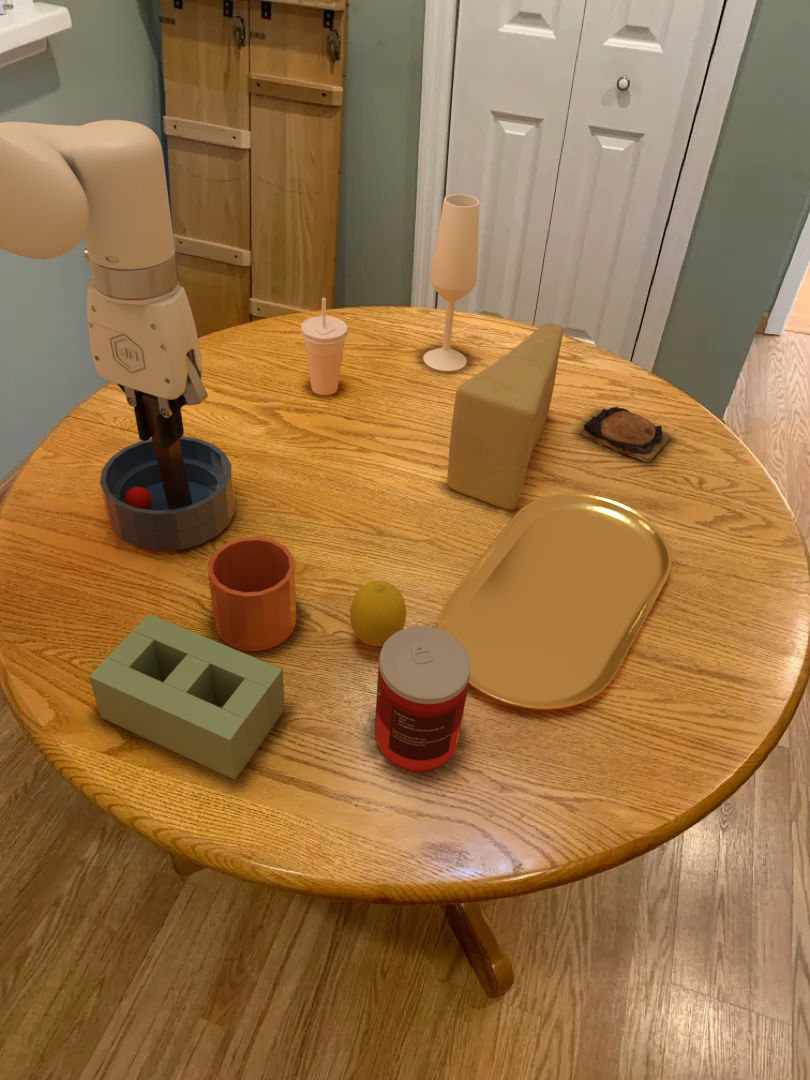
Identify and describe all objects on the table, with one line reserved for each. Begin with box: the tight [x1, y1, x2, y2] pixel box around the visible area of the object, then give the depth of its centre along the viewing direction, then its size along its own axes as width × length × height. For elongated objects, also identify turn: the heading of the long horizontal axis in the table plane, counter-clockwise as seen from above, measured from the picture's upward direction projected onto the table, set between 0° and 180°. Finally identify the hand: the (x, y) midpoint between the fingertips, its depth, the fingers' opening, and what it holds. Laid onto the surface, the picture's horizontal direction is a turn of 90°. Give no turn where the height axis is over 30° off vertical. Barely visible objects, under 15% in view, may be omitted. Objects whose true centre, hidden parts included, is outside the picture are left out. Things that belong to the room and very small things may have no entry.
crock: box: [207, 536, 297, 652], centre depth 84 cm, size 8×8×8 cm
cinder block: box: [88, 613, 286, 781], centre depth 76 cm, size 8×14×6 cm, turn 65°
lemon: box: [349, 580, 407, 647], centre depth 83 cm, size 6×6×8 cm
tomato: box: [124, 487, 152, 509], centre depth 97 cm, size 3×3×3 cm
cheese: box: [446, 322, 564, 510], centre depth 106 cm, size 22×10×15 cm, turn 152°
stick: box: [142, 393, 192, 510], centre depth 91 cm, size 2×2×16 cm
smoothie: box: [300, 297, 349, 396], centre depth 116 cm, size 6×6×14 cm
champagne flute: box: [422, 193, 480, 372], centre depth 121 cm, size 7×7×24 cm
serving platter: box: [437, 493, 673, 711], centre depth 92 cm, size 19×35×2 cm, turn 149°
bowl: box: [99, 435, 236, 552], centre depth 97 cm, size 14×14×6 cm
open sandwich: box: [579, 406, 671, 464], centre depth 115 cm, size 11×8×4 cm
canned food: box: [374, 625, 470, 773], centre depth 74 cm, size 8×8×11 cm
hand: (161, 436), depth 89 cm, fingers closed on stick, 2 cm apart
